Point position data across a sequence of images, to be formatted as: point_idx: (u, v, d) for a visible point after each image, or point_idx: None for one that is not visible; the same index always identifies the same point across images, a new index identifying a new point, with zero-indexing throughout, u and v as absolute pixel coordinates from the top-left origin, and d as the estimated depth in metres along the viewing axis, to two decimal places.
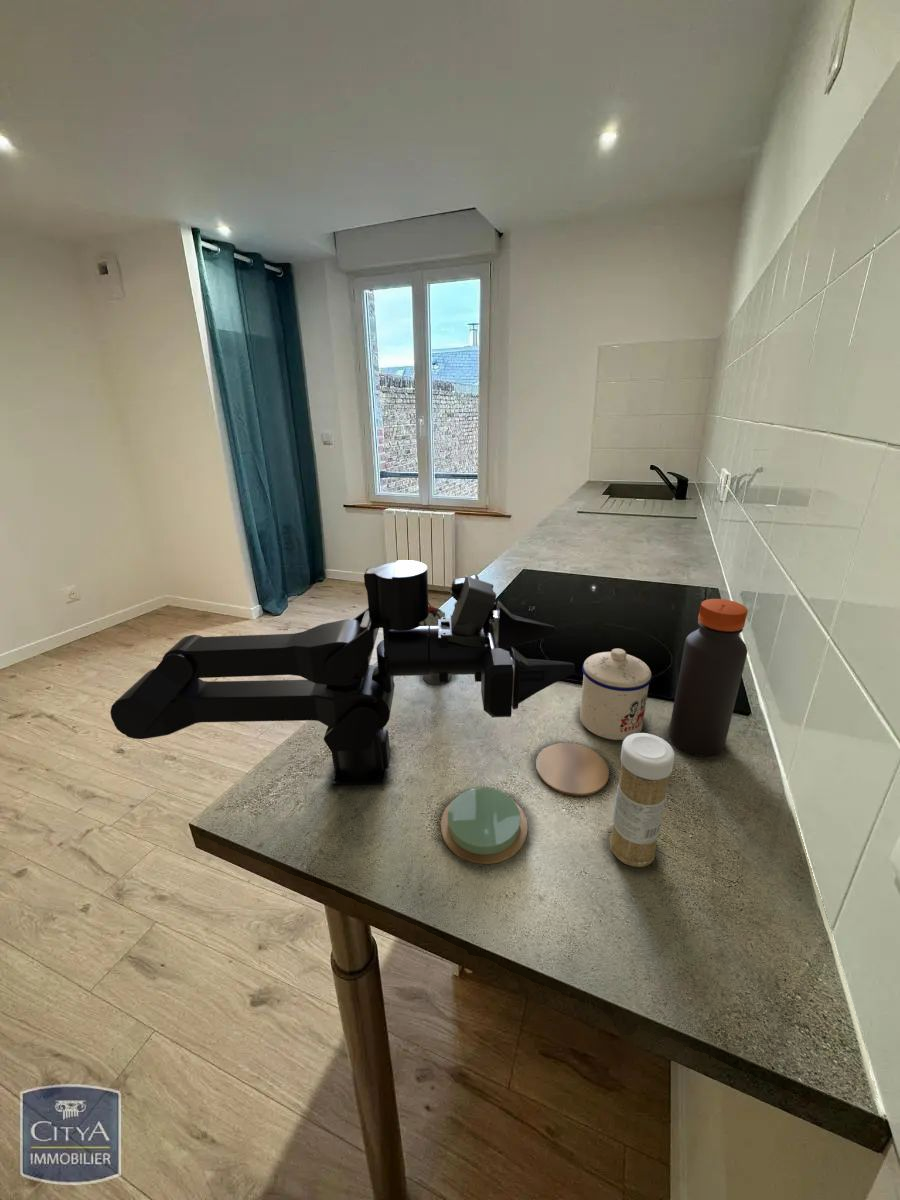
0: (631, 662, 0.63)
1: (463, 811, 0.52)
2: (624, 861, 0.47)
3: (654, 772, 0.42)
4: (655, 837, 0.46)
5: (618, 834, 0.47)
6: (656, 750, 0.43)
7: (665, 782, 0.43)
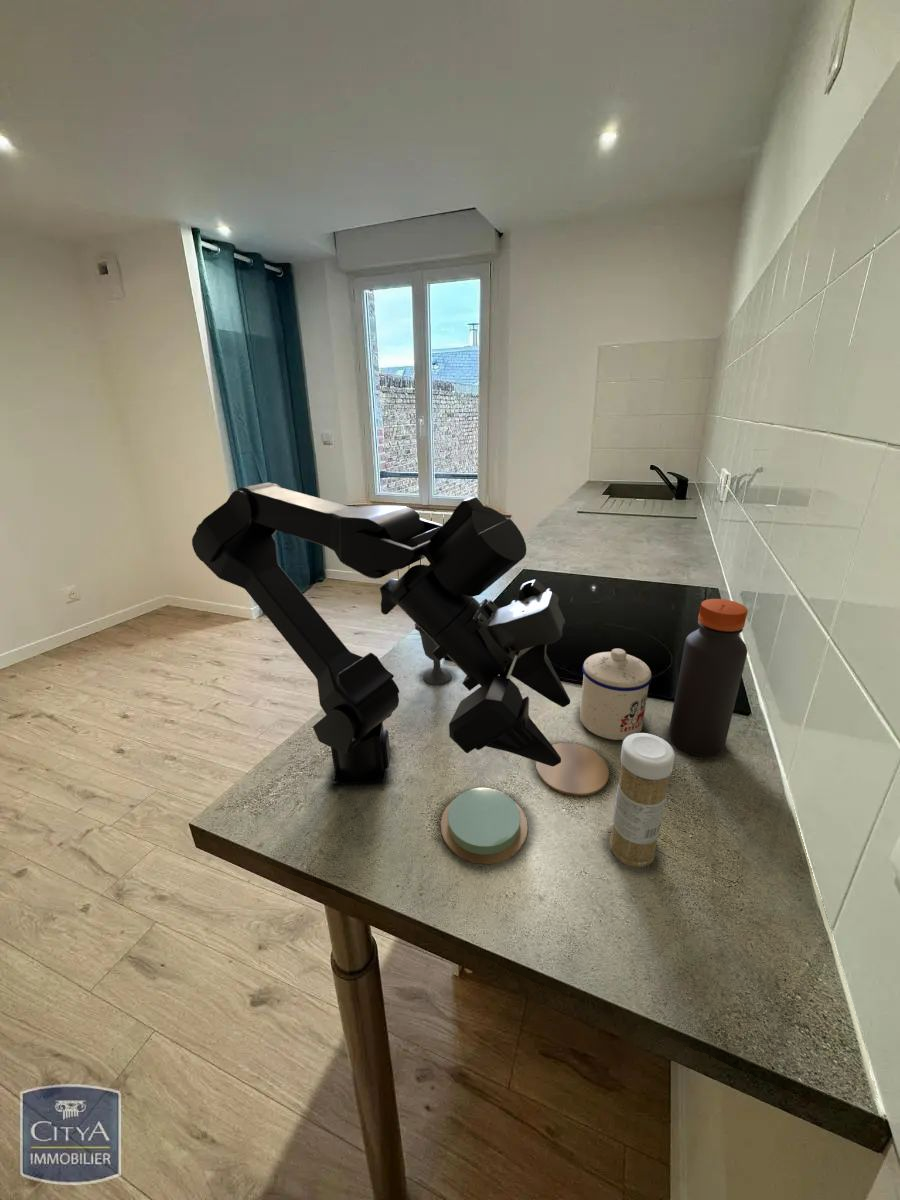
0: (631, 662, 0.63)
1: (463, 811, 0.52)
2: (624, 861, 0.47)
3: (654, 772, 0.42)
4: (655, 837, 0.46)
5: (618, 834, 0.47)
6: (656, 750, 0.43)
7: (665, 782, 0.43)
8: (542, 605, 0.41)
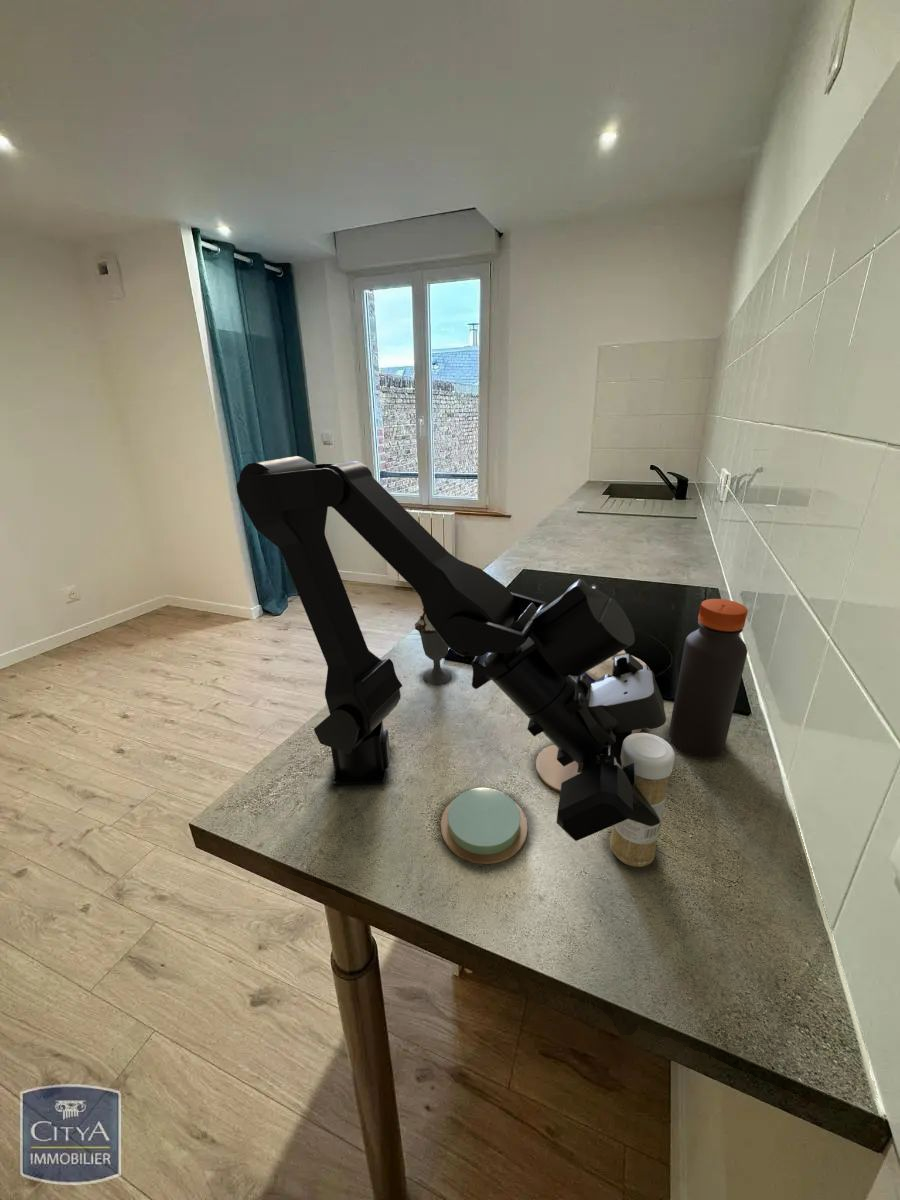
0: None
1: (463, 811, 0.52)
2: (624, 861, 0.47)
3: (654, 772, 0.42)
4: (655, 837, 0.46)
5: (618, 834, 0.47)
6: (656, 750, 0.43)
7: (665, 782, 0.43)
8: (647, 689, 0.40)
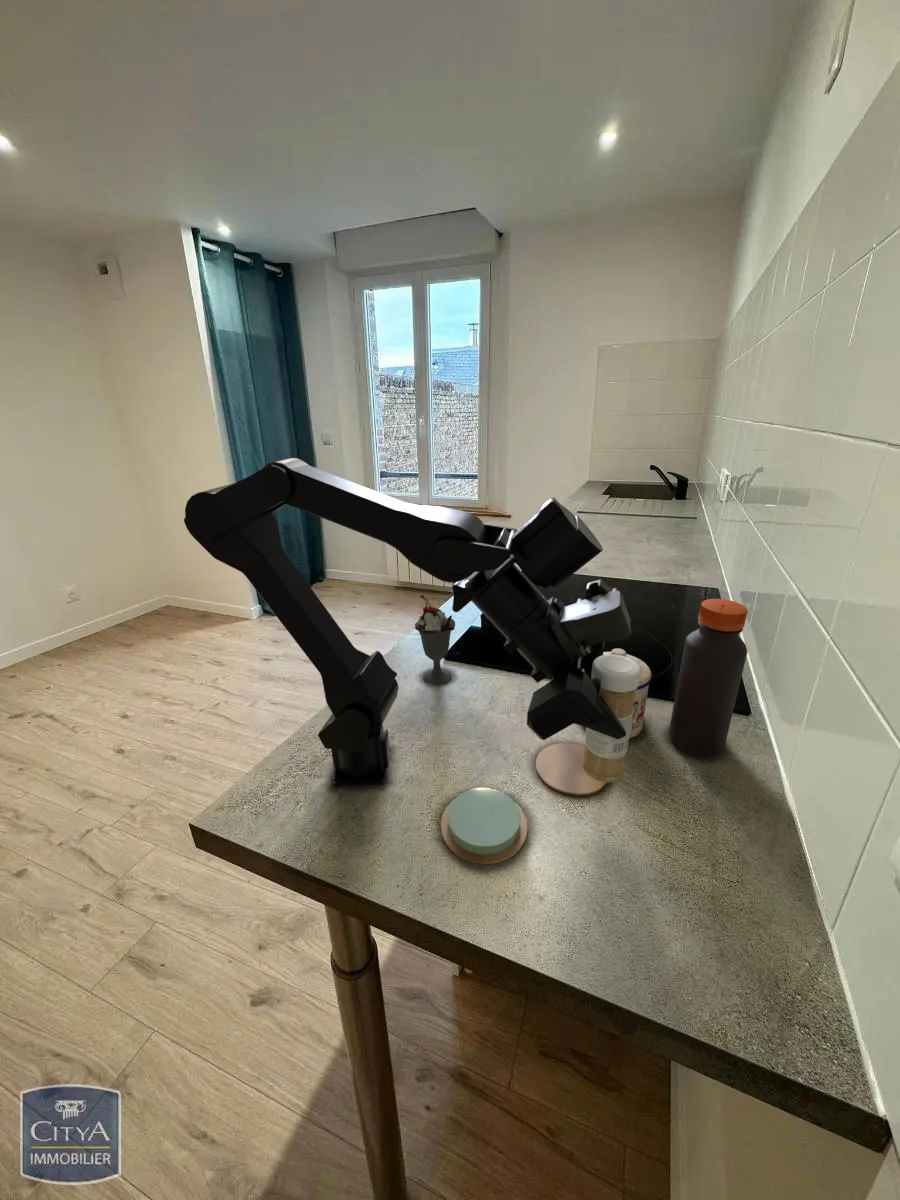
0: None
1: (463, 811, 0.52)
2: (594, 777, 0.50)
3: (620, 684, 0.45)
4: (623, 752, 0.49)
5: (588, 752, 0.50)
6: (623, 667, 0.46)
7: (631, 696, 0.46)
8: (613, 604, 0.43)
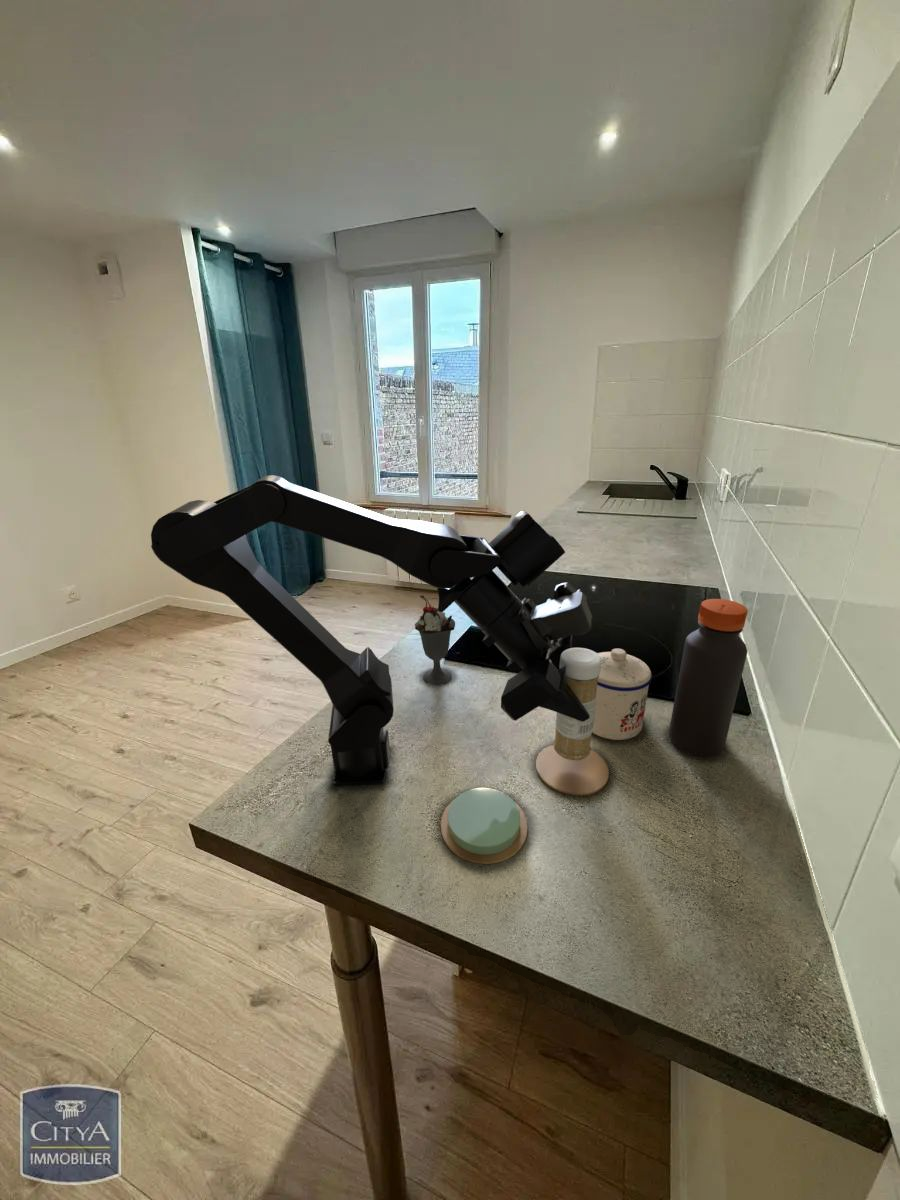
0: (631, 662, 0.63)
1: (463, 811, 0.52)
2: (563, 756, 0.57)
3: (583, 673, 0.52)
4: (588, 734, 0.56)
5: (558, 734, 0.57)
6: (586, 658, 0.53)
7: (593, 684, 0.53)
8: (575, 603, 0.50)
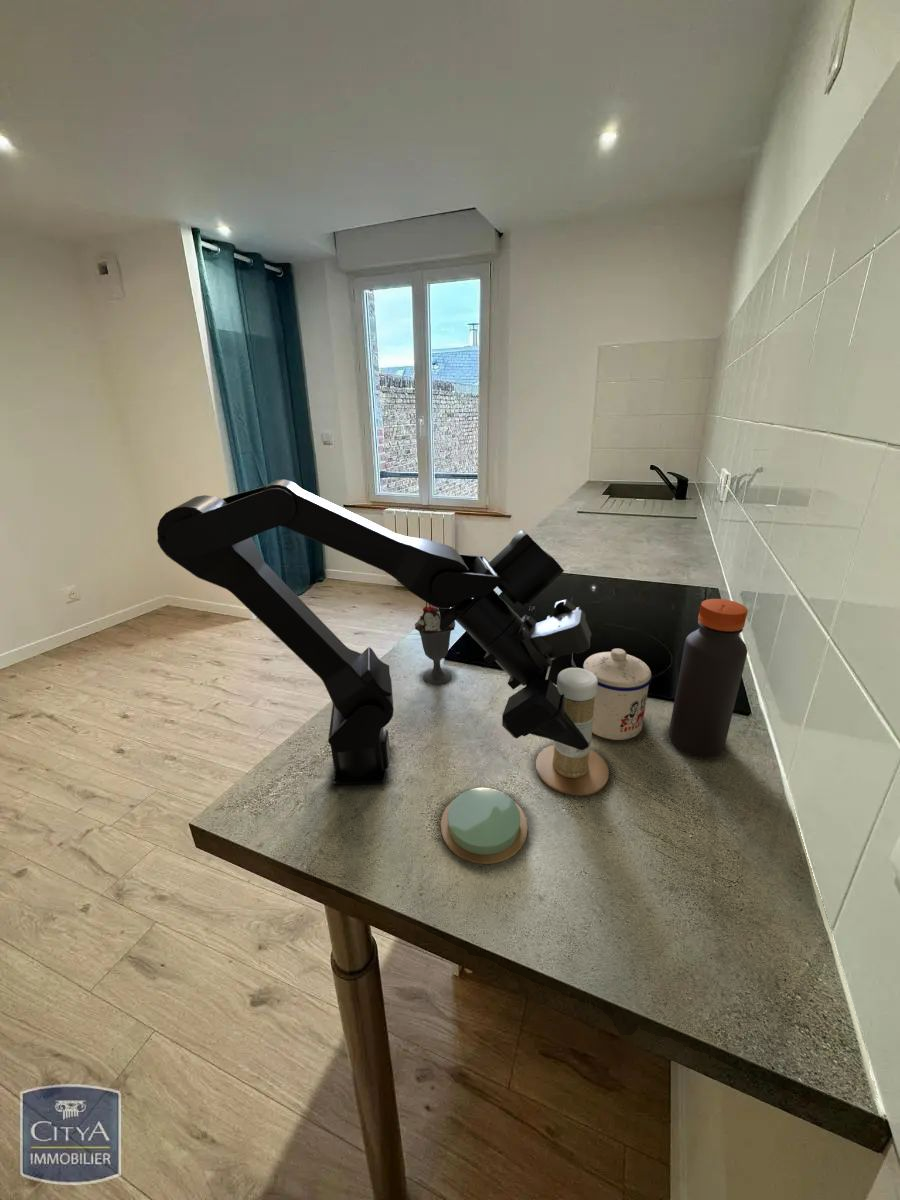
0: (631, 662, 0.63)
1: (463, 811, 0.52)
2: (562, 773, 0.58)
3: (579, 694, 0.53)
4: (586, 752, 0.57)
5: (557, 752, 0.58)
6: (583, 678, 0.54)
7: (590, 704, 0.54)
8: (574, 621, 0.51)
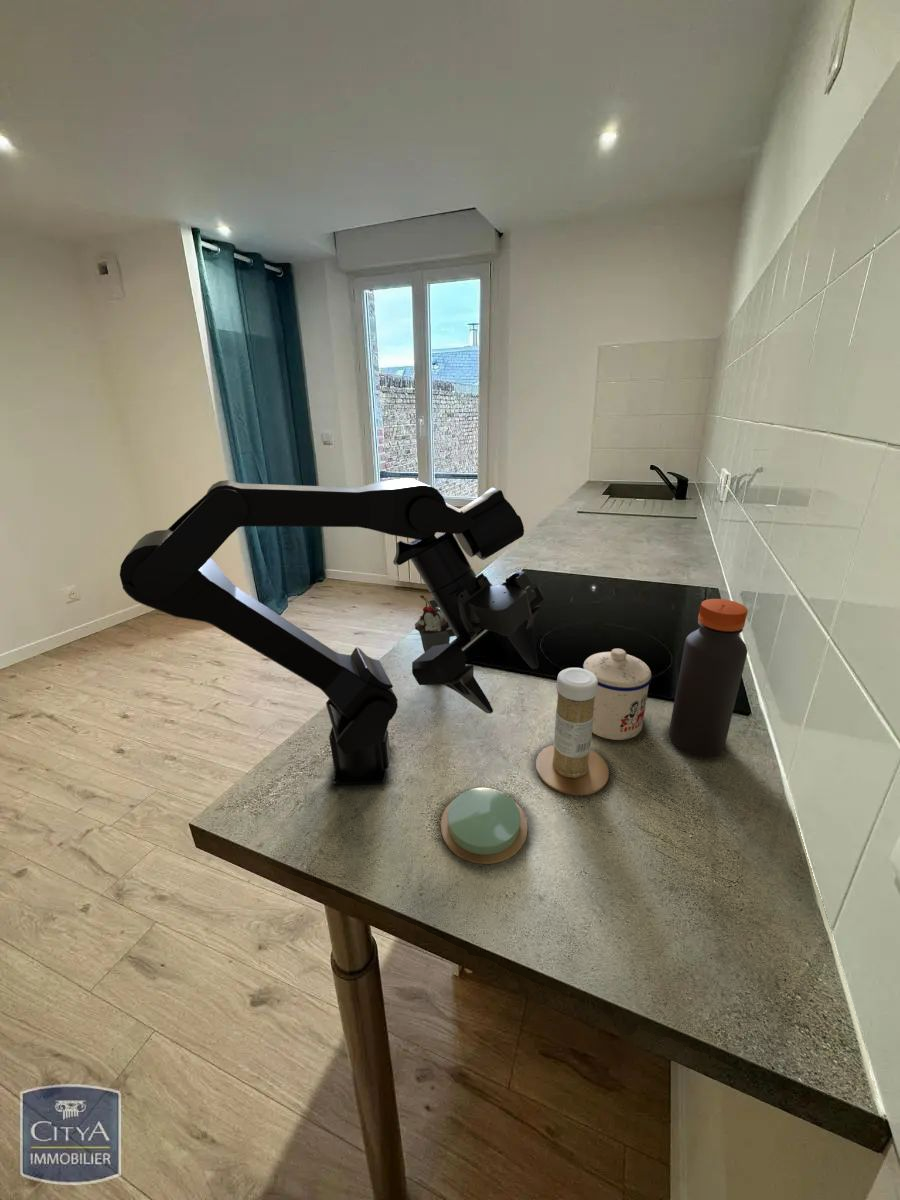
0: (631, 662, 0.63)
1: (463, 811, 0.52)
2: (562, 773, 0.58)
3: (579, 694, 0.53)
4: (586, 752, 0.57)
5: (557, 752, 0.58)
6: (583, 678, 0.54)
7: (590, 704, 0.54)
8: (505, 604, 0.49)
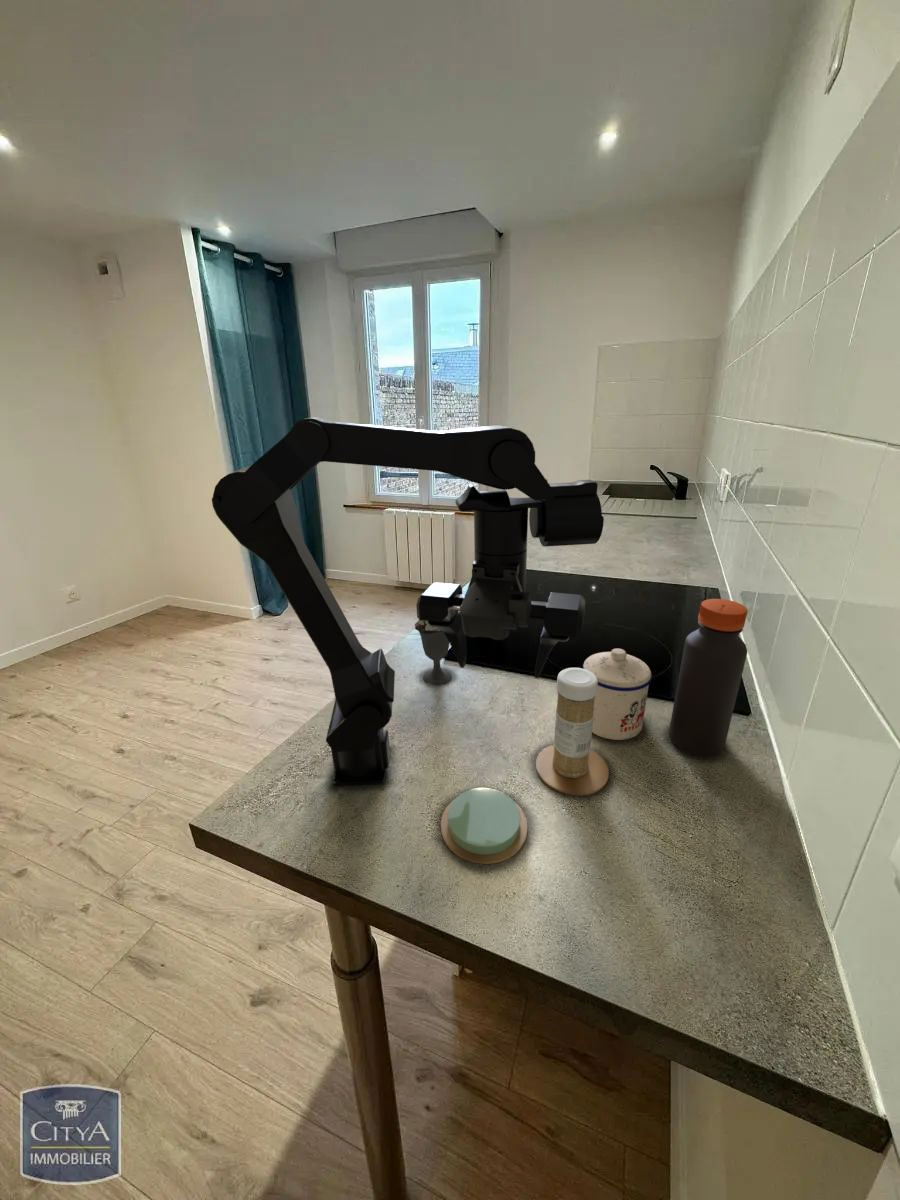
0: (631, 662, 0.63)
1: (463, 811, 0.52)
2: (562, 773, 0.58)
3: (579, 694, 0.53)
4: (586, 752, 0.57)
5: (557, 752, 0.58)
6: (583, 678, 0.54)
7: (590, 704, 0.54)
8: (471, 611, 0.47)
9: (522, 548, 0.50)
